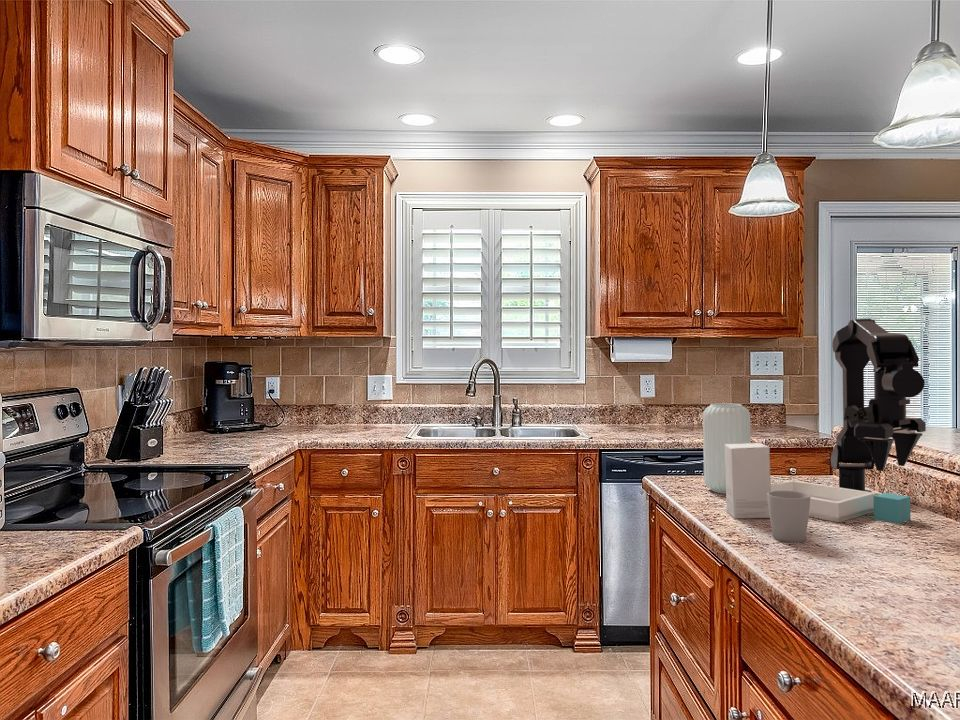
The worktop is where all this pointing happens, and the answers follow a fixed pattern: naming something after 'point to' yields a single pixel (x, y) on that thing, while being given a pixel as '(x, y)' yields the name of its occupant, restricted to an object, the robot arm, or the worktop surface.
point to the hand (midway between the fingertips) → (890, 468)
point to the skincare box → (747, 480)
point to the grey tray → (831, 500)
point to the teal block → (892, 508)
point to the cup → (789, 515)
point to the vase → (722, 439)
